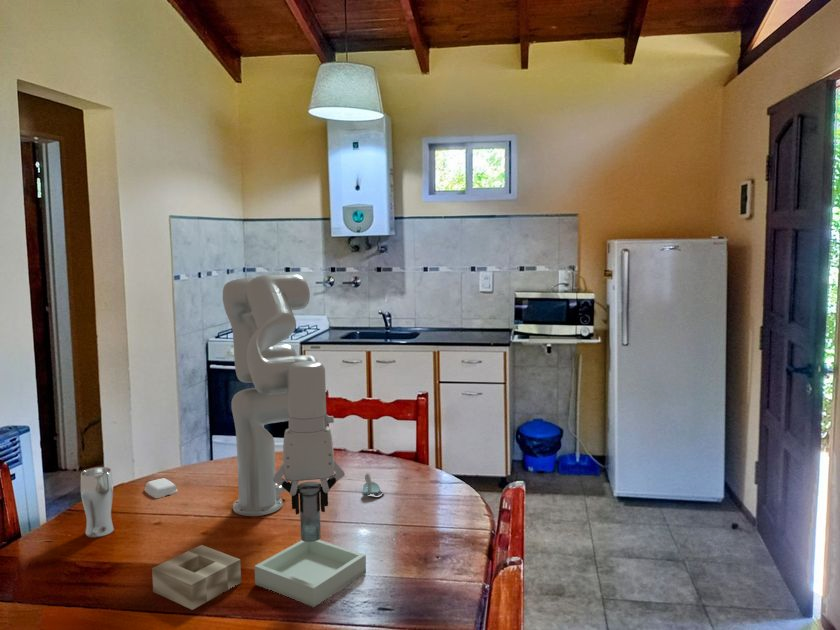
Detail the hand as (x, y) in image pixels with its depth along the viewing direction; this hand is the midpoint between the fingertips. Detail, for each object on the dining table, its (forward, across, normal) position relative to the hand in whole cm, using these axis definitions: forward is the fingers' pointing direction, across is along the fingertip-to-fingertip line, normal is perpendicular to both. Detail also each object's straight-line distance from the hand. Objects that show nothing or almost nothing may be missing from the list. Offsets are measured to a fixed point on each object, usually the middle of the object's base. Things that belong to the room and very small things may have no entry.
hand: (310, 509), depth 137 cm
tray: (+15, 0, 0) cm, 15 cm away
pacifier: (+15, -19, -43) cm, 49 cm away
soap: (+15, +39, -58) cm, 71 cm away
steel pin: (+6, 0, 0) cm, 6 cm away
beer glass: (+15, +49, -34) cm, 61 cm away
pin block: (+15, +23, -2) cm, 27 cm away
